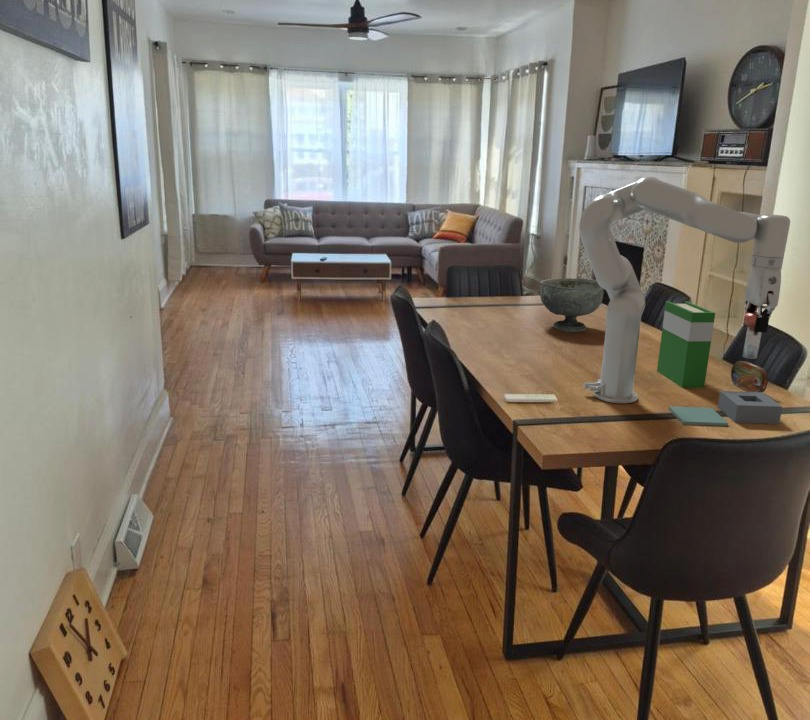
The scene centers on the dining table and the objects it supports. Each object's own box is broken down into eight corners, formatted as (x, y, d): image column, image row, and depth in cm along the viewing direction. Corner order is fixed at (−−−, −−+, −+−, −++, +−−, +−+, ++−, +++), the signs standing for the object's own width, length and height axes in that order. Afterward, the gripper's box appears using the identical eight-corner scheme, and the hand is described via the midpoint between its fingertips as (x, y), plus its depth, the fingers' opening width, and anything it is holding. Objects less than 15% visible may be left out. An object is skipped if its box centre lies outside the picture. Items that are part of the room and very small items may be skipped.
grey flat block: (734, 422, 192) (737, 405, 191) (717, 407, 203) (720, 390, 202) (779, 423, 192) (782, 406, 190) (759, 408, 203) (762, 392, 202)
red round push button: (765, 360, 190) (773, 317, 186) (743, 359, 190) (751, 316, 186) (755, 354, 195) (763, 312, 192) (733, 353, 196) (741, 311, 192)
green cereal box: (656, 371, 238) (665, 301, 231) (677, 370, 238) (687, 301, 232) (681, 387, 221) (692, 312, 214) (704, 387, 221) (715, 312, 215)
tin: (728, 382, 227) (732, 357, 225) (737, 382, 228) (741, 357, 225) (757, 397, 213) (762, 371, 210) (767, 397, 213) (771, 371, 211)
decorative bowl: (608, 336, 281) (612, 286, 276) (544, 335, 281) (547, 286, 277) (593, 323, 307) (596, 277, 302) (534, 323, 307) (536, 277, 302)
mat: (682, 424, 190) (683, 421, 189) (668, 408, 201) (669, 406, 201) (727, 425, 189) (728, 423, 189) (711, 410, 201) (711, 407, 200)
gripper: (797, 268, 177) (783, 337, 182) (765, 258, 193) (754, 322, 199) (767, 267, 177) (754, 336, 182) (738, 257, 194) (727, 321, 199)
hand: (754, 328), depth 190 cm, fingers closed on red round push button, 6 cm apart
